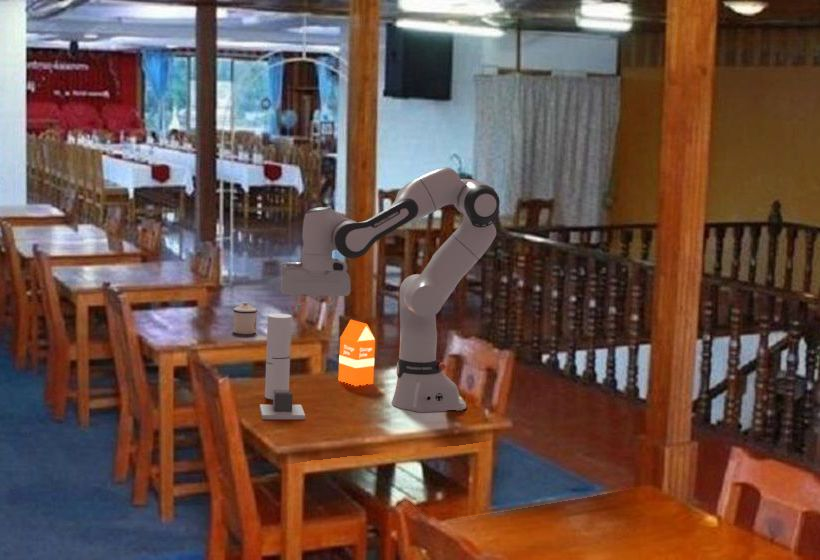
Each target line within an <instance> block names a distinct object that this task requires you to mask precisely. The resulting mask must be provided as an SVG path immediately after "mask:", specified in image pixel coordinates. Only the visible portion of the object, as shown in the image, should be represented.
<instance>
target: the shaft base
mask: <svg viewBox="0 0 820 560" xmlns="http://www.w3.org/2000/svg"><path fill="white" fill-rule="evenodd" d="M259 411H260V415H261V419H262V420H306V414H305V411H304V409H303V406H302V404H292V412H274V409H273V404H268V403H267V404H266V403H265V404H261V403H260V404H259Z"/></svg>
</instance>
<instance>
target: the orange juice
mask: <svg viewBox="0 0 820 560" xmlns="http://www.w3.org/2000/svg"><path fill="white" fill-rule="evenodd" d="M375 351H376V338H375V336H374V335H373V332H372V330H371V329H370V327H369V325H368V324H367V323H364V322H361V321H358V320H355V319H350V320H349V321H348V324H347V325H346V327H345V328H344V331H343V332H342V334H341V336H339V353H338V354H339V356H338V379H337V380H338V381H337V382H340V381H341V382H340V383H343V382H345V383H344V384H346V383H348V384H347V385H349V384H351V385H350V386H352V385H354V386H353V387H360V386H359V385H361V386H367V385H366V384H368V385H373V384H374V373H375V372H374V371H375V370H374V369H375Z"/></svg>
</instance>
